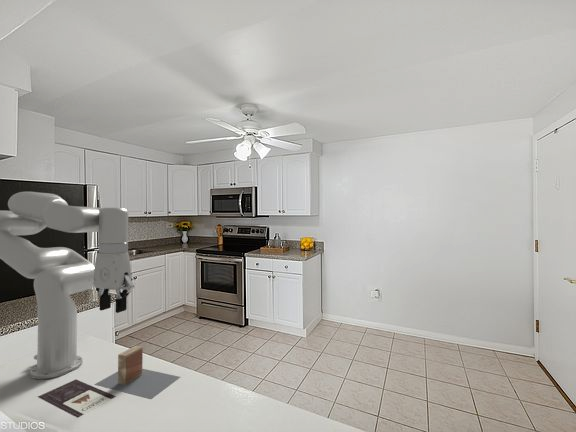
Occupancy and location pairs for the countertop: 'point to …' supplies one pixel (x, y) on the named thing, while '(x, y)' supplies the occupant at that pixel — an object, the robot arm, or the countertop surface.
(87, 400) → the chocolate bar
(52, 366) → the robot arm
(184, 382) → the countertop surface
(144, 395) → the mat
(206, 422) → the countertop surface
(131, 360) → the wooden block
